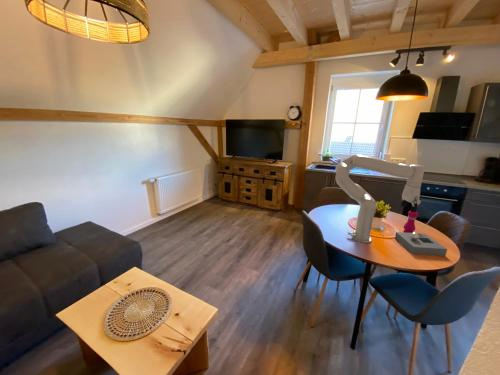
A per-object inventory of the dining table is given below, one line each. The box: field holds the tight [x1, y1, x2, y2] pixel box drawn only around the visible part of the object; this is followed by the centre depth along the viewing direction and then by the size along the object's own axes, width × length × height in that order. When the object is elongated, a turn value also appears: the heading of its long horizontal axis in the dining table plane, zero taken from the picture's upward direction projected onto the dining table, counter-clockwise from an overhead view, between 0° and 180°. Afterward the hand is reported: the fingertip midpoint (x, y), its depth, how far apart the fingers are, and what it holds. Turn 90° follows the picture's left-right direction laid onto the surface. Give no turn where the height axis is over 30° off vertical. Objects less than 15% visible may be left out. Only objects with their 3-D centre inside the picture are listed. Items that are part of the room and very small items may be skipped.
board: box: [394, 231, 448, 257], centre depth 146 cm, size 20×20×5 cm
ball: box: [410, 232, 419, 240], centre depth 145 cm, size 5×5×5 cm
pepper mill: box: [402, 210, 419, 233], centre depth 163 cm, size 7×7×20 cm
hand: (408, 209), depth 142 cm, fingers open, 9 cm apart
